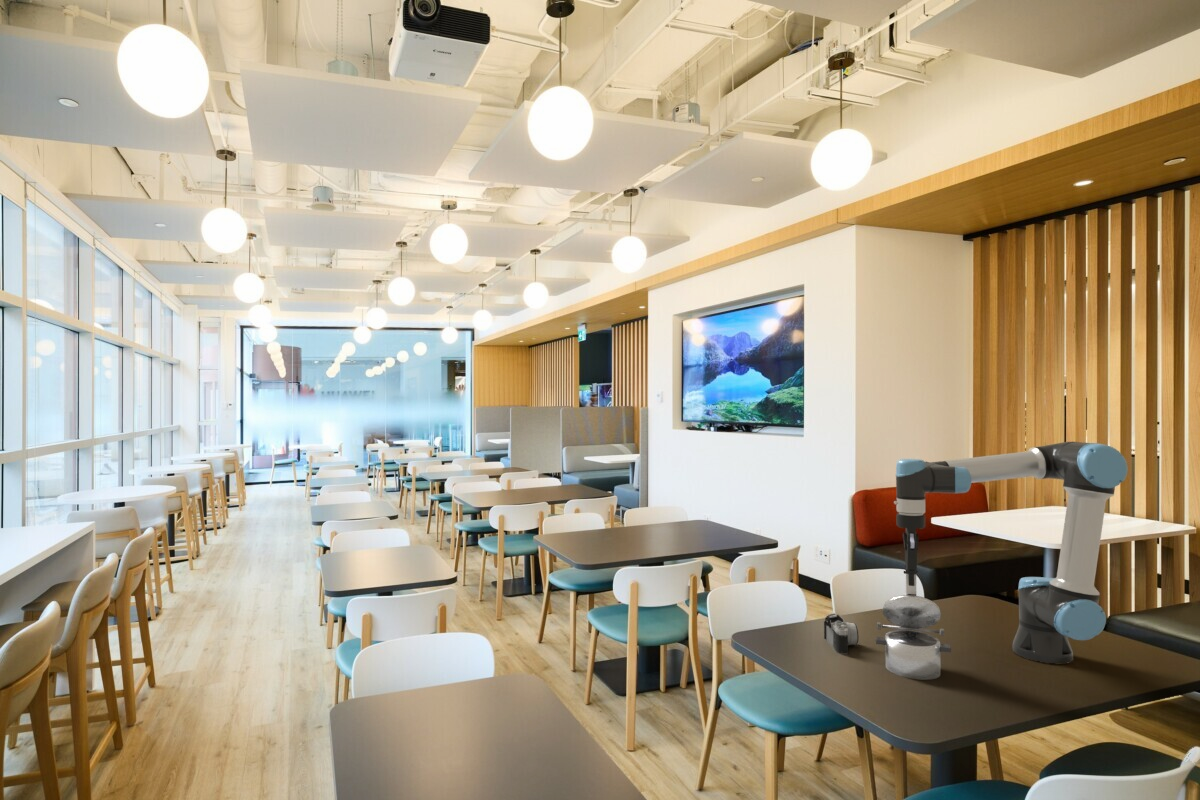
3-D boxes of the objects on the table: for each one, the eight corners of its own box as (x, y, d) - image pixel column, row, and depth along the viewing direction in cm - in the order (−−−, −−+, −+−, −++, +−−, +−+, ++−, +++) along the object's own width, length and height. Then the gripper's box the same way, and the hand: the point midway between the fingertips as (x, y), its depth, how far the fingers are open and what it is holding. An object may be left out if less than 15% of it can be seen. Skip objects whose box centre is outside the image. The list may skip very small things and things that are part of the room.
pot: (954, 685, 179) (953, 647, 179) (877, 676, 185) (876, 638, 185) (946, 664, 193) (945, 629, 193) (875, 656, 200) (874, 621, 200)
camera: (864, 656, 200) (864, 623, 200) (833, 656, 200) (833, 622, 201) (849, 639, 215) (848, 607, 215) (820, 638, 216) (820, 607, 216)
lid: (943, 602, 184) (942, 594, 186) (883, 597, 189) (882, 589, 191) (938, 633, 193) (938, 625, 195) (881, 628, 199) (881, 619, 200)
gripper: (895, 509, 199) (895, 589, 199) (897, 516, 187) (898, 600, 186) (922, 510, 196) (923, 591, 196) (927, 517, 184) (927, 603, 184)
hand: (911, 596), depth 191 cm, fingers closed
